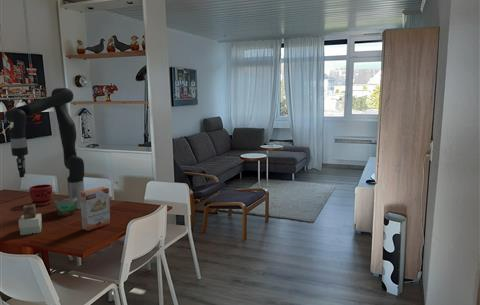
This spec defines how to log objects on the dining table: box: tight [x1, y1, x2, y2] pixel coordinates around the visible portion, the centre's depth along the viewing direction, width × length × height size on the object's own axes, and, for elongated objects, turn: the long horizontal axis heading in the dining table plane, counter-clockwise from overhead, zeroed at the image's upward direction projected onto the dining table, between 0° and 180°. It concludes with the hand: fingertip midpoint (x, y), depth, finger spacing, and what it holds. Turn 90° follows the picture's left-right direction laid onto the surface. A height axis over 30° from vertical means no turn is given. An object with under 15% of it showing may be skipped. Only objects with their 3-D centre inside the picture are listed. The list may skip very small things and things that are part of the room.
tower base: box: [19, 222, 43, 236], centre depth 190 cm, size 9×9×4 cm
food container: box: [53, 197, 77, 218], centre depth 214 cm, size 12×6×10 cm, turn 117°
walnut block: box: [22, 203, 37, 219], centre depth 189 cm, size 5×5×6 cm
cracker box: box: [80, 186, 111, 232], centre depth 196 cm, size 14×6×21 cm, turn 145°
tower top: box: [18, 213, 43, 229], centre depth 190 cm, size 9×9×4 cm
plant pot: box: [28, 183, 53, 207], centre depth 236 cm, size 13×13×12 cm
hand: (22, 175), depth 197 cm, fingers open, 8 cm apart
